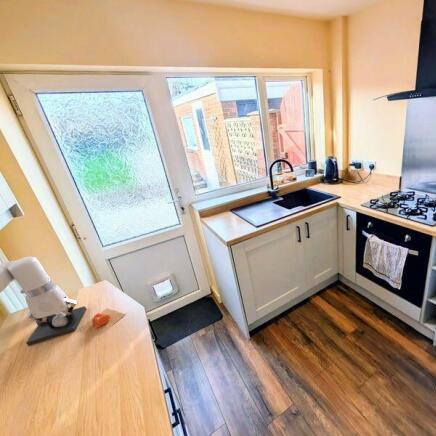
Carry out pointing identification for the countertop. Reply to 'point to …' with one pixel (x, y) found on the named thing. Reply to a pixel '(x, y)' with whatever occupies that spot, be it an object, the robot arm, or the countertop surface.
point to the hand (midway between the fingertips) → (63, 323)
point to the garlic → (59, 320)
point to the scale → (55, 328)
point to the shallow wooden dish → (101, 322)
